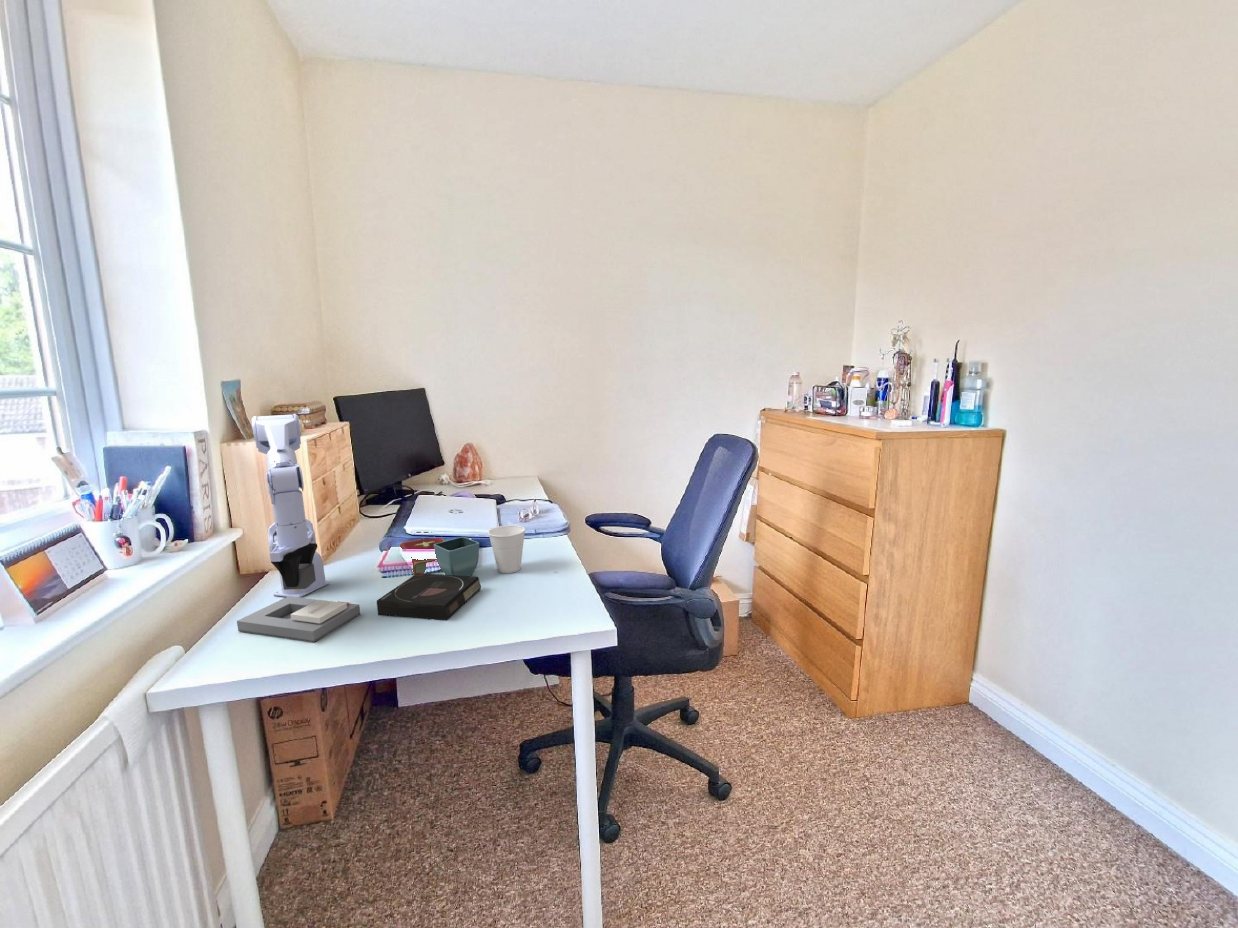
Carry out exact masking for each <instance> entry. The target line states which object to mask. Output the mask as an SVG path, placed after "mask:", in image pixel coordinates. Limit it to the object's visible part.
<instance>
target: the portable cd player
mask: <svg viewBox="0 0 1238 928" xmlns="http://www.w3.org/2000/svg"><path fill="white" fill-rule="evenodd" d="M481 588H482V585H481V582H480V577H479V576H475V575H474V576H473V575H471V576H459V575H445V574H440V573H439V574H438V573H426V574H424V573H417V574H415V575H414V574H413V575H412V576H411V577H409V578H408V579H406V580H405V581H403V582H402V583H400V584H399V585H397V586H396V587H395V588H393V589H392V590H390V591H388V592H387V593H386V594H384V595H383V596H380V597H379V598H378V599H377V600H376V609H377V616H379V617H392V618H406V619H408V618H409V619H420V620H431V619H434V620H433V621H448V620H450V619H451V617H452V616H454V615H455V614H456V613H457V612H458V611H459V610H460V609H461V608H462V607H464V605H466V604H468V602H469V601H470V600H471V599H472V598H474V596H475V595H477V594H478V592H480V591H481V590H482V589H481Z"/></svg>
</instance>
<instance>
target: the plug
mask: <svg viewBox="0 0 1238 928" xmlns="http://www.w3.org/2000/svg"><path fill="white" fill-rule="evenodd" d="M298 574H299V582H298V586H297V587H287V586H286V584H285V582H284V580H283V578H282V581H283V588H284V590H289V589H295V591H300V590H301V589H306V588H307V587H310V586H311V584H312V583H313V582H315V581H316V578H315V570H314V564H299V570H298Z"/></svg>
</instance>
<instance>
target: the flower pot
mask: <svg viewBox="0 0 1238 928" xmlns="http://www.w3.org/2000/svg"><path fill="white" fill-rule="evenodd" d="M434 549H435V554H436V558H437V562H438V564H439V566H440V568H441V570H440V571H442V572H443V575H459V576H473V574H474V573H475V572H476V569H477V566H478V565H479V564H478V563H479V557H480V555H479V554H480V541H479V542H478V541H476V540H473V539H470V538H468V537H465V536H460V537H455V538H452V539H448V540H445V541H444V542H440V543H436V544H434Z"/></svg>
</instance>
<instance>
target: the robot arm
mask: <svg viewBox="0 0 1238 928" xmlns="http://www.w3.org/2000/svg"><path fill="white" fill-rule="evenodd" d="M251 426H252V433H253V440H254V441H255V447H256V449H257V451H258V452H259V453H262V454H265V455H266V456H265V457H266V466H267V471H266V472H265V478H266V485H267V490H268V491H267V492H268V494H269V496H270V503H271V505H272V510H273V511H272V512H273V518H274V522H273V523H272V524H271V525H270V526H269V527H268V530H267V540H268V549H269V557H270V563H271V564H272V565H273V566H274V567H275V568H276V569H277V571H278V573H279V580H280V587H281V589H279V590H277V591H275V592H274V593H273V596H276V597H284V598H286V597H288V596H292V597H300V598H303V597H304V596H307V595H308V594H310V593H312V592H315V591H316V590H318V589H320V588H323V587H324V586H326V585H328V584H329V582H328V581H326V575H325V567H324V561H323V557H322V556H321V555H320V553H319V552H317V549H318V543H317V541H316V533H315V529H314V525H313V523H312V521H311V520H309V519H307V517H306V512H305V505H304V503H305V502H304V496H303V492H304V489H305V486H304V485H305V484H304V483H305V482H304V477H303V476H304V475H303V470H302V468H301V466H300V465H299V463H298V459H297V453H296V451H297V450H299V449H301V444H302V443H301V436H302V435H301V433H302V432H301V426H300V419H299V415H298V414H296V413H293V414H277V415H260V416H259V415H258V416H257V415H254V416H253V417H252V418H251ZM300 489H301V490H302V491H301V490H300ZM299 564H314V570H315V578H316V581H315V582H313V583H312V584H311V586H310V587H307V588H306V589H301V590H300V591H295V589H289V590H284V588H283V581H282V578H283V580H284V582H285V584H286V586H287V587H297V586H298V582H299V574H298V570H299Z"/></svg>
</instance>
